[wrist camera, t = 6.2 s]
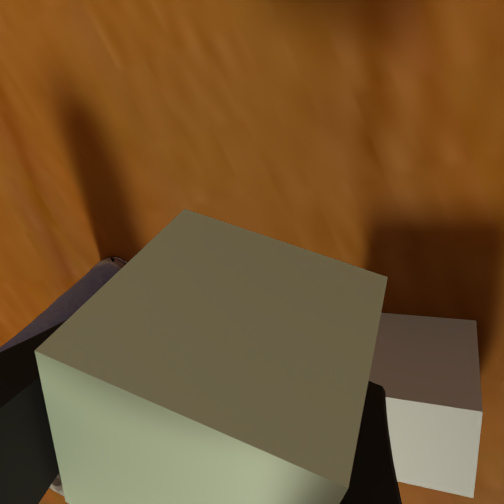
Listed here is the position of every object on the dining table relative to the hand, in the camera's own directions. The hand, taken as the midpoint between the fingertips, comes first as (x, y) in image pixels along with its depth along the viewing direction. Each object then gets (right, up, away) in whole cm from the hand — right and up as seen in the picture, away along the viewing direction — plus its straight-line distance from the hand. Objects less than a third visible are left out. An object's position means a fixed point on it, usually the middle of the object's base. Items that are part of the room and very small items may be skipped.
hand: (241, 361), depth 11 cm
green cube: (+1, +1, +1) cm, 2 cm away
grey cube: (+8, -2, +11) cm, 14 cm away
